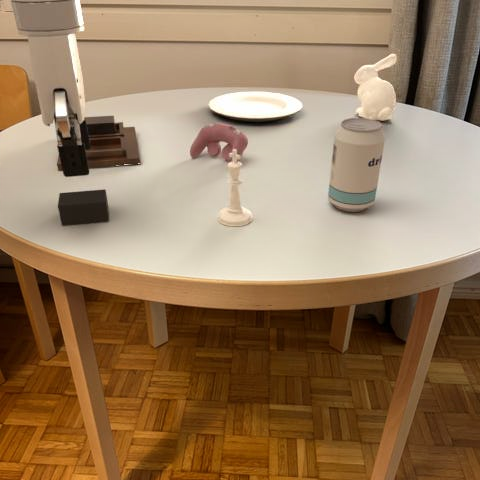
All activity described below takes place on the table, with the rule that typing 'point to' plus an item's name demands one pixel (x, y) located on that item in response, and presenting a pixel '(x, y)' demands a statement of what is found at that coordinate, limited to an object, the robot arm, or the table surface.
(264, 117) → the plate
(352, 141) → the beverage can
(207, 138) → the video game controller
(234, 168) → the chess piece
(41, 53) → the robot arm
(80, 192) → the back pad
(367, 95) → the rabbit
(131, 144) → the brown stepped block
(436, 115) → the table surface
